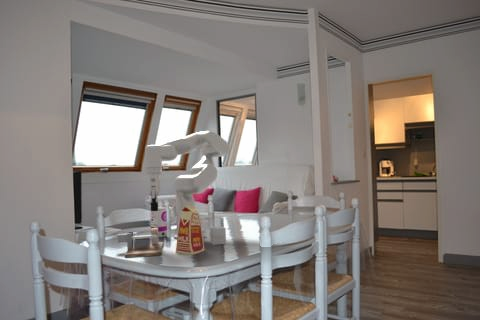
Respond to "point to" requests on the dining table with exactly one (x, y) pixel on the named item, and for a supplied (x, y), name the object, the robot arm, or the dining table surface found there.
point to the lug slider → (154, 232)
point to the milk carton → (190, 232)
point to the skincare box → (218, 235)
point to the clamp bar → (133, 237)
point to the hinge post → (129, 241)
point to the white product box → (159, 221)
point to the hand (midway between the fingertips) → (154, 210)
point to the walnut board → (146, 251)
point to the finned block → (141, 243)
